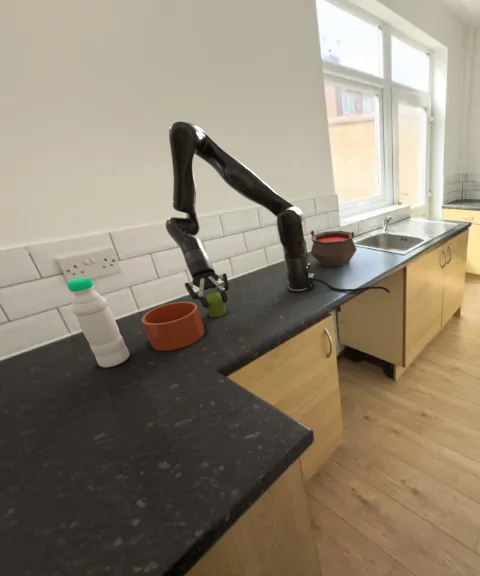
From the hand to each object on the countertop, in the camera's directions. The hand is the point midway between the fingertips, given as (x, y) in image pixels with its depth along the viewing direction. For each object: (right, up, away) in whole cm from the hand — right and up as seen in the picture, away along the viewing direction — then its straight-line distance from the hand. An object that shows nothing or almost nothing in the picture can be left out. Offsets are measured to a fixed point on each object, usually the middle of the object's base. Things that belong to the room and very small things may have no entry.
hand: (216, 304), depth 112 cm
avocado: (-1, -4, +3) cm, 5 cm away
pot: (-6, -10, -11) cm, 16 cm away
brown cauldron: (+34, +19, +50) cm, 63 cm away
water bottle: (-18, -15, -21) cm, 32 cm away
